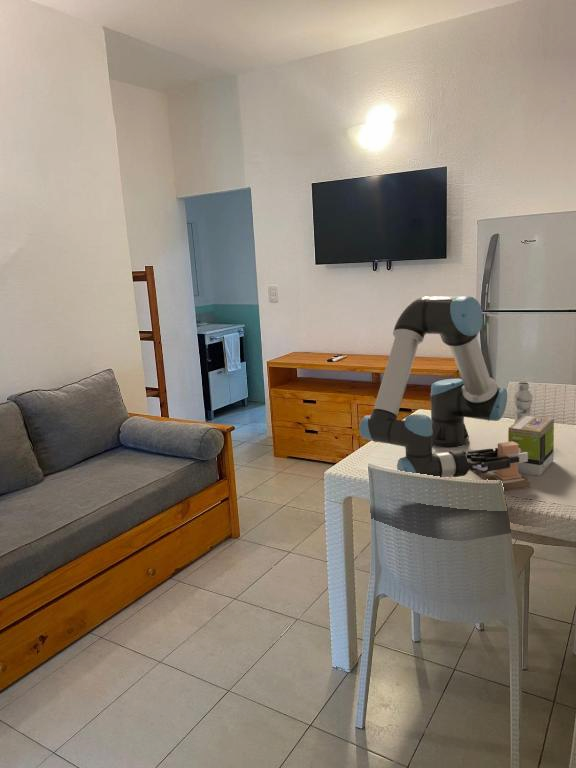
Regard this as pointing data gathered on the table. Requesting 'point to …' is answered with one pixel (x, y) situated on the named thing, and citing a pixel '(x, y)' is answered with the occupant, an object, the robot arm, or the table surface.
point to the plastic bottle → (522, 401)
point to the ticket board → (508, 483)
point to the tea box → (534, 443)
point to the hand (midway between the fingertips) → (523, 454)
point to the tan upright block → (513, 470)
